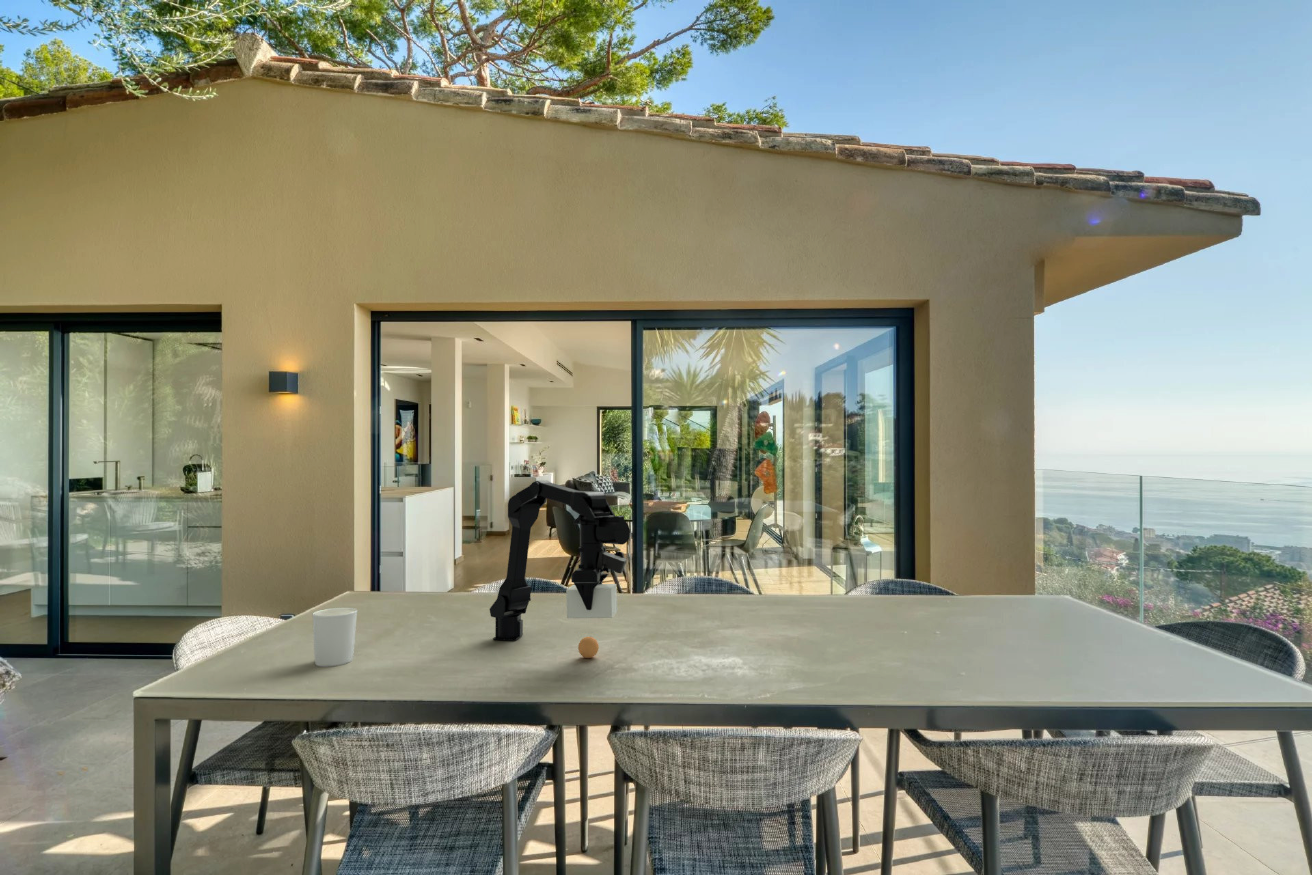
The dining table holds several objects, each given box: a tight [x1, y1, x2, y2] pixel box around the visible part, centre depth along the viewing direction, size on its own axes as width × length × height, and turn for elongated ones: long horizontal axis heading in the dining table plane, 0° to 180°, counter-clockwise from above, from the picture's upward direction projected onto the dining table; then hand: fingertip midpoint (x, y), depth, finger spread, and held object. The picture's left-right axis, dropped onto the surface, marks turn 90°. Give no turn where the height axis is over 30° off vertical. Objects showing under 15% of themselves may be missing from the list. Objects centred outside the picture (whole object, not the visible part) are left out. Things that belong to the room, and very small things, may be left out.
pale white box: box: [565, 583, 618, 619], centre depth 159 cm, size 11×8×7 cm
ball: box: [577, 636, 600, 659], centre depth 159 cm, size 5×5×5 cm
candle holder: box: [312, 607, 358, 668], centre depth 157 cm, size 10×10×12 cm
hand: (592, 606), depth 159 cm, fingers closed on pale white box, 7 cm apart
